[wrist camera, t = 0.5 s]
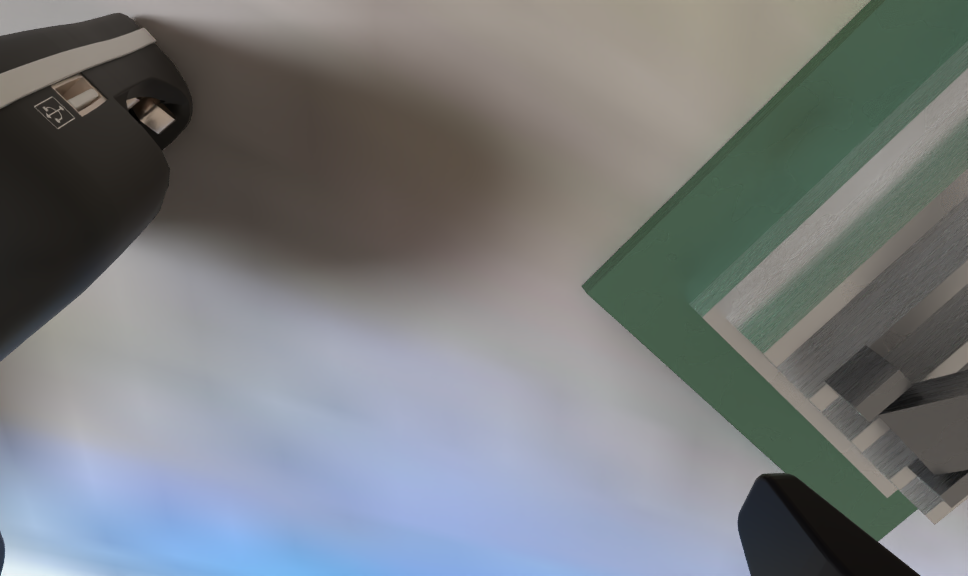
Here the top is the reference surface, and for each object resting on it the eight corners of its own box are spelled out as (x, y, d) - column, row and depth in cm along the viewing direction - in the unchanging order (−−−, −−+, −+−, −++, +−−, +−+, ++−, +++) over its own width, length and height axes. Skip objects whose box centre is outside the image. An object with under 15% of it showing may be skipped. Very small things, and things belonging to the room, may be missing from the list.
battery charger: (57, 271, 21) (-209, 562, 11) (-62, 171, 20) (-503, 401, 9) (240, 117, 21) (136, 276, 10) (131, -1, 19) (-122, 47, 9)
